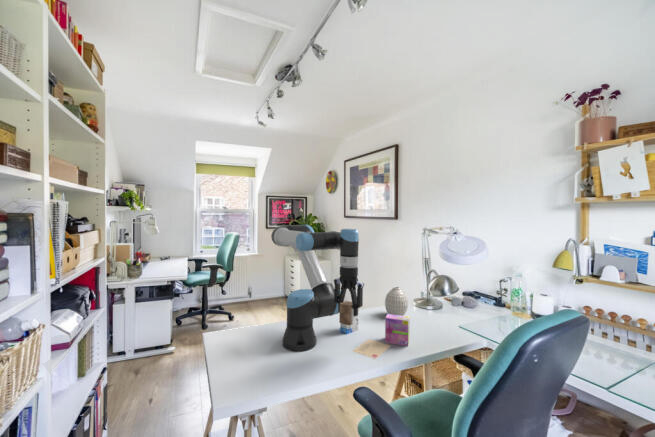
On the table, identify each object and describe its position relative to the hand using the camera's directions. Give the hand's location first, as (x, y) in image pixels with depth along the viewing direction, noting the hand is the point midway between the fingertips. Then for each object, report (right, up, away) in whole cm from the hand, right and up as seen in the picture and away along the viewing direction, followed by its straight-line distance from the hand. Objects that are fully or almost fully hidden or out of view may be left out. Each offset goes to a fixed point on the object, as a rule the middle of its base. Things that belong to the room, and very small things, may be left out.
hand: (347, 321), depth 125 cm
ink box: (+2, -13, +25) cm, 28 cm away
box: (+24, -14, +13) cm, 30 cm away
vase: (+31, -13, +46) cm, 57 cm away
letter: (+11, -14, +6) cm, 19 cm away
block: (0, 0, 0) cm, 0 cm away
